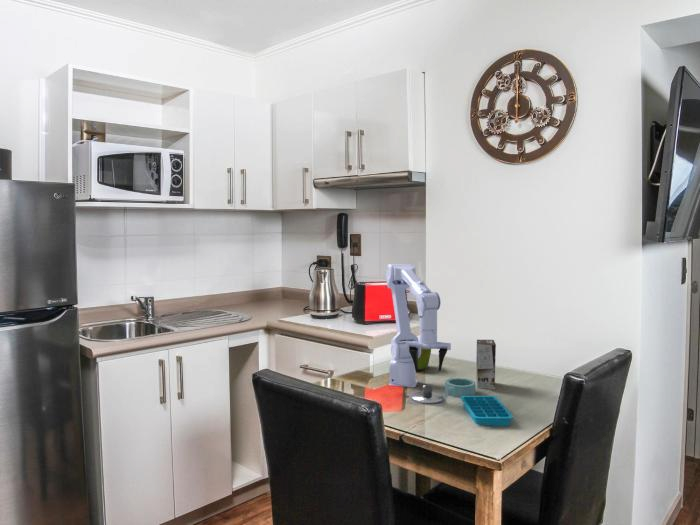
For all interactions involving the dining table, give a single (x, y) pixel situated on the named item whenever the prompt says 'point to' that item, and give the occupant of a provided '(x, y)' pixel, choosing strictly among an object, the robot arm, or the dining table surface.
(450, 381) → the bowl
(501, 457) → the dining table surface
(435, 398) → the lid
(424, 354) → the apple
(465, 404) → the ice cube tray
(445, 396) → the mat
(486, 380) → the coffee box
